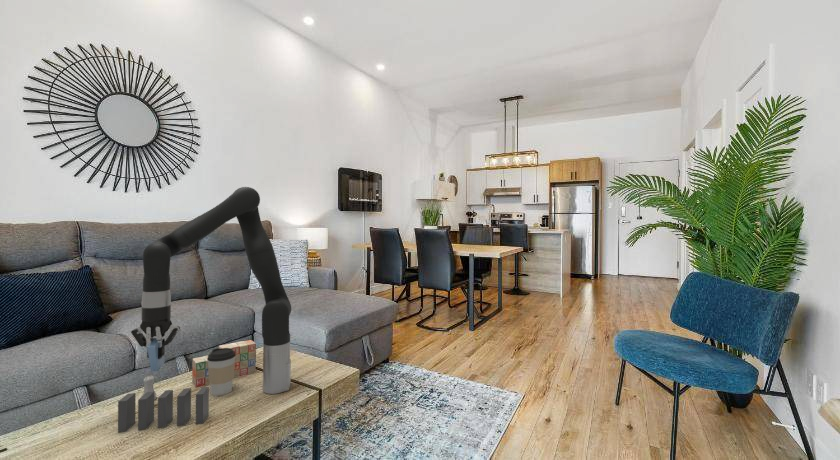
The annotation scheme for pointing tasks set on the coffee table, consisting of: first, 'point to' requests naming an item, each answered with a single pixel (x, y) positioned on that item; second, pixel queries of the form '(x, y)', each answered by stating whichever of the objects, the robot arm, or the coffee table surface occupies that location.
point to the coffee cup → (221, 370)
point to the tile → (154, 356)
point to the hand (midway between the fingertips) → (155, 358)
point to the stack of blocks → (243, 362)
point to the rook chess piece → (149, 385)
